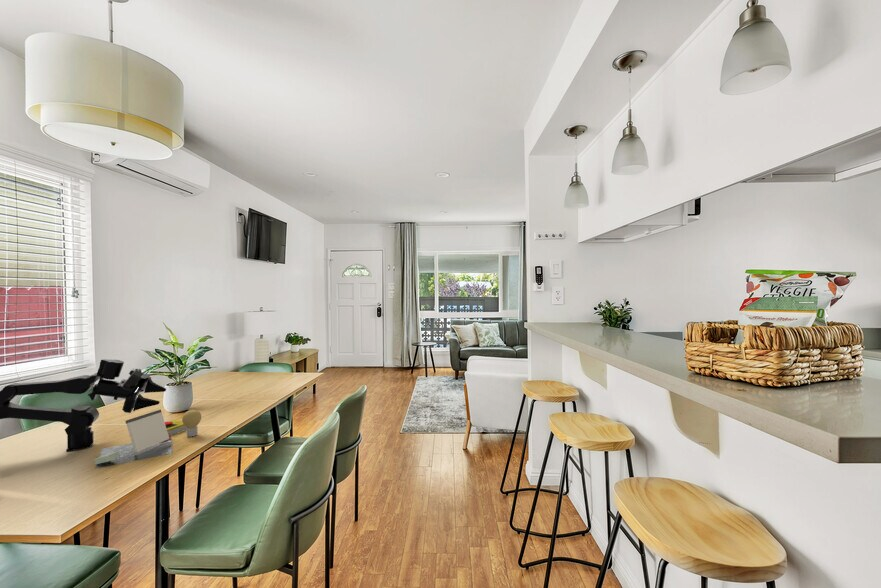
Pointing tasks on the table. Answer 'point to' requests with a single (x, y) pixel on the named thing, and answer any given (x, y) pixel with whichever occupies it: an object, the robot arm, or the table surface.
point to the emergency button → (175, 426)
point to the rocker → (107, 457)
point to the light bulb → (191, 422)
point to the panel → (129, 454)
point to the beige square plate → (147, 430)
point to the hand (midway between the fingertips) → (162, 396)
